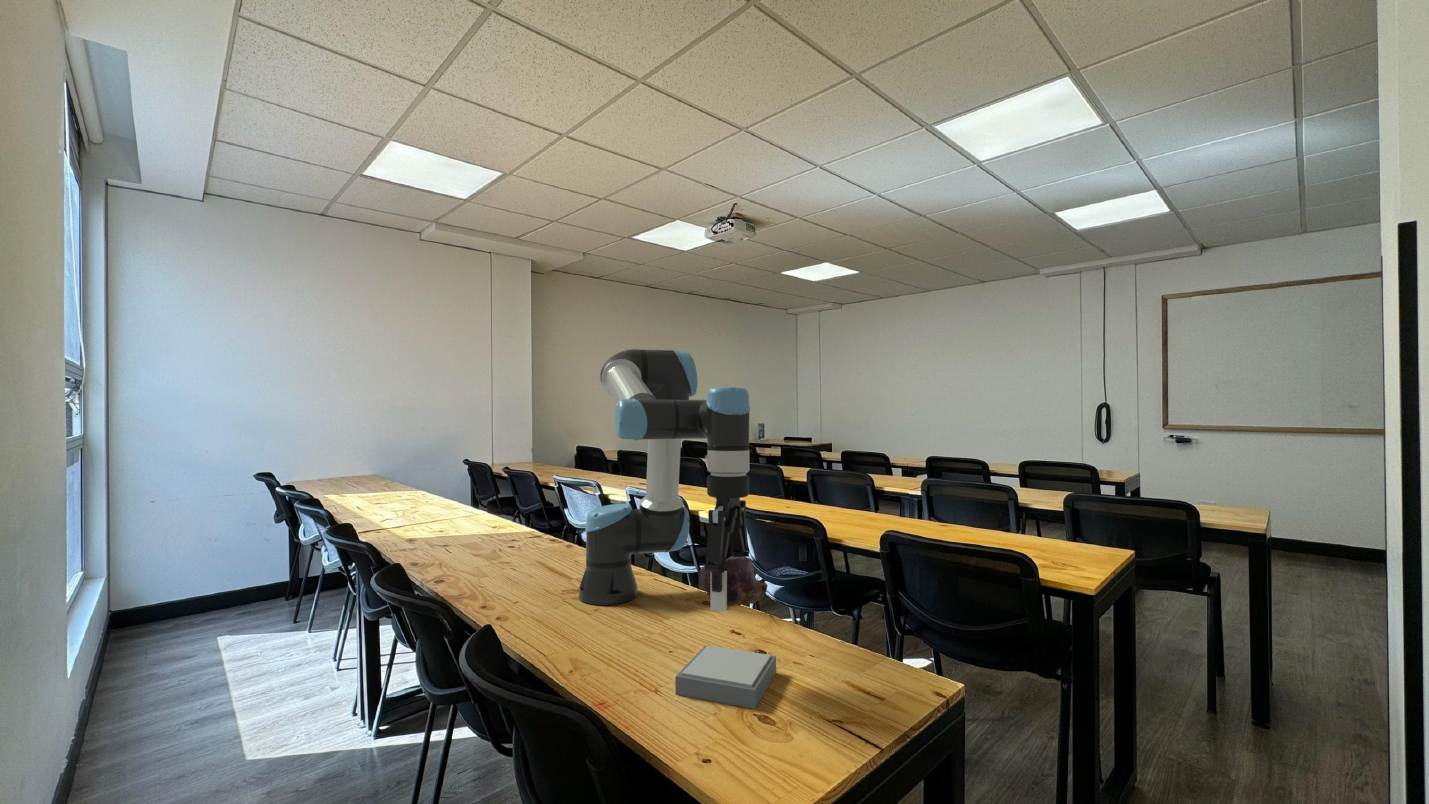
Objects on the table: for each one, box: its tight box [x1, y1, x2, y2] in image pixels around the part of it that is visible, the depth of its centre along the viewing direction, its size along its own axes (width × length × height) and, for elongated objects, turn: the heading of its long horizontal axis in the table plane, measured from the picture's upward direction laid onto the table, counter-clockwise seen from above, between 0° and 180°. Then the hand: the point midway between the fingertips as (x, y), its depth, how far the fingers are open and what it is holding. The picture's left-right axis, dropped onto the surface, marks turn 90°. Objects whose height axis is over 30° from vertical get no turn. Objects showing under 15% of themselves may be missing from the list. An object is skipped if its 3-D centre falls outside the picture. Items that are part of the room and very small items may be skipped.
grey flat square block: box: [674, 645, 777, 710], centre depth 102 cm, size 14×14×3 cm
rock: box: [699, 555, 768, 607], centre depth 102 cm, size 12×9×10 cm
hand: (728, 600), depth 102 cm, fingers closed on rock, 9 cm apart
